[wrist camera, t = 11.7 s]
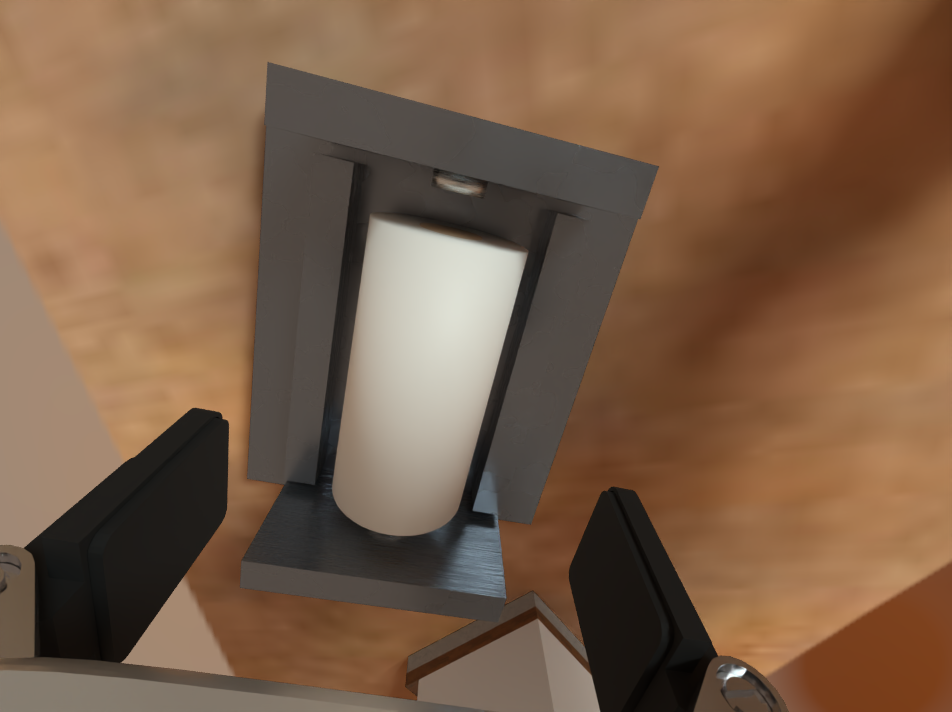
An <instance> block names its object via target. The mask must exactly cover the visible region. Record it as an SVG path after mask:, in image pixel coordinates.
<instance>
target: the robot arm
mask: <svg viewBox="0 0 952 712" xmlns="http://www.w3.org/2000/svg"><path fill="white" fill-rule="evenodd" d="M228 443H229V423H228V421H227V420H224V419H222V415H221V413H219V412H215V411H210V410H205V409H199V408H192V409H191V410H189V411H188V412H187V413H186V414H185V415H183V416H182V417H181V418H180V419H179V420H178V421H176V422H175V423H174V424H173V425H172V426H171V427H169V428H168V429H167V430H166V431H165V432H164V433H162V434H161V435H160V436H159V437H158V438H157V439H155V440H154V441H153V442H152V443H151V444H150V445H148V446H147V447H146V448H145V449H144V450H143V451H141V452H140V453H139V454H138V455H137V456H136V457H133V458H131V459H129V460H128V461H126V462H125V463H124V464H122V465H121V466H120V467H119V468H118V469H117V470H116V471H114V472H113V473H112V474H111V475H109V476H108V477H107V478H106V479H105V480H104V481H102V482H101V483H100V484H99V485H98V486H96V487H95V488H94V489H93V490H92V491H91V492H89V493H88V494H87V495H86V496H85V497H83V498H82V499H81V500H80V501H79V502H78V503H76V504H75V505H74V506H73V507H72V508H70V509H69V510H68V511H67V512H66V513H65V514H63V515H62V516H61V517H60V518H59V519H57V520H56V521H55V522H54V523H53V524H52V525H51V526H49V527H48V528H47V529H46V530H44V531H43V532H42V533H41V534H40V535H39V536H37V537H36V538H35V539H34V540H33V541H31V542H30V543H29V544H28V545H27V546H26V547H24V548H21V547H16V546H12V545H0V712H496V711H489V710H481V709H474V708H467V707H460V706H453V705H445V704H438V703H431V702H423V701H416V700H408V699H401V698H394V697H386V696H379V695H371V694H364V693H356V692H349V691H341V690H334V689H326V688H319V687H311V686H304V685H296V684H288V683H280V682H272V681H265V680H257V679H249V678H241V677H234V676H226V675H218V674H210V673H202V672H195V671H187V670H179V669H169V668H160V667H151V666H142V665H133V664H124V663H121V662H122V661H123V660H124V659H125V658H126V657H127V656H128V655H129V653H130V652H131V650H132V649H133V647H134V646H135V645H136V643H137V642H138V640H139V639H140V637H141V636H142V635H143V633H144V632H145V630H146V629H147V628H148V626H149V625H150V623H151V622H152V621H153V619H154V618H155V616H156V615H157V614H158V612H159V611H160V609H161V608H162V606H163V605H164V604H165V602H166V601H167V599H168V598H169V596H170V595H171V594H172V592H173V591H174V589H175V588H176V587H177V585H178V584H179V582H180V581H181V580H182V578H183V577H184V575H185V574H186V573H187V571H188V570H189V568H190V567H191V565H192V564H193V563H194V561H195V560H196V558H197V557H198V556H199V554H200V553H201V551H202V550H203V548H204V547H205V546H206V544H207V543H208V541H209V540H210V539H211V537H212V536H213V534H214V533H215V531H216V530H217V529H218V527H219V526H220V524H221V523H222V521H223V519H224V517H225V514H226V510H227V487H228ZM569 581H570V586H571V590H572V594H573V598H574V603H575V607H576V611H577V615H578V620H579V624H580V628H581V632H582V637H583V641H584V645H585V649H586V654H587V658H588V662H589V666H590V671H591V675H592V679H593V683H594V687H595V692H596V696H597V700H598V704H599V709H600V712H789V711H788V709H787V706H786V704H785V702H784V700H783V699H782V697H781V696H780V694H779V693H778V691H777V690H776V689H775V688H774V686H773V685H772V684H771V683H770V682H769V681H768V680H767V679H766V678H765V677H764V676H763V675H762V674H761V673H759V672H758V671H757V670H756V669H755V668H753V667H752V666H750V665H748V664H747V663H745V662H743V661H742V660H739V659H736V658H733V657H731V656H718V655H717V653H716V651H715V649H714V647H713V645H712V642H711V640H710V638H709V636H708V634H707V632H706V630H705V628H704V626H703V624H702V622H701V620H700V618H699V616H698V614H697V612H696V610H695V608H694V606H693V604H692V602H691V600H690V598H689V596H688V594H687V592H686V590H685V588H684V586H683V584H682V582H681V580H680V578H679V576H678V574H677V572H676V571H675V569H674V567H673V565H672V563H671V561H670V559H669V557H668V555H667V553H666V551H665V549H664V547H663V545H662V543H661V541H660V539H659V537H658V535H657V533H656V531H655V529H654V527H653V525H652V523H651V521H650V519H649V517H648V515H647V513H646V511H645V509H644V507H643V505H642V503H641V501H640V499H639V497H638V495H637V494H636V492H635V491H633V490H628V489H623V488H617V487H611V488H609V490H608V491H603V492H602V493H601V495H600V497H599V499H598V502H597V504H596V506H595V509H594V511H593V513H592V516H591V518H590V520H589V523H588V525H587V528H586V530H585V532H584V535H583V537H582V539H581V542H580V544H579V546H578V549H577V551H576V553H575V556H574V558H573V560H572V563H571V565H570V569H569Z"/></svg>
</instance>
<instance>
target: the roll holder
mask: <svg viewBox="0 0 952 712" xmlns="http://www.w3.org/2000/svg"><path fill="white" fill-rule="evenodd" d="M264 125H266V141H265V160H264V178H263V196H262V215H261V233H260V252H259V270H258V289H257V307H256V326H255V344H254V363H253V381H252V399H251V418H250V436H249V455H248V473H247V479H252V480H258V481H265V482H271V483H277V484H283V485H284V487H283V489H282V490H281V492H280V494H279V496H278V497H277V499H276V501H275V503H274V504H273V506H272V508H271V510H270V511H269V513H268V515H267V517H266V518H265V520H264V522H263V524H262V525H261V527H260V529H259V531H258V532H257V534H256V536H255V538H254V540H253V541H252V543H251V545H250V547H249V548H248V550H247V552H246V554H245V555H244V557H243V559H242V561H241V577H240V588H245V589H253V590H260V591H267V592H275V593H282V594H290V595H297V596H305V597H312V598H319V599H327V600H334V601H342V602H349V603H356V604H364V605H371V606H379V607H386V608H394V609H401V610H408V611H416V612H423V613H431V614H438V615H446V616H453V617H460V618H468V619H475V620H483V621H490V622H498V621H499V618H500V616H501V613H502V610H503V607H504V604H505V601H506V599H507V597H506V588H505V579H504V570H503V561H502V552H501V543H500V534H499V525H498V519H499V520H505V521H511V522H518V523H524V524H530V525H531V523H532V520H533V517H534V514H535V511H536V508H537V506H538V503H539V500H540V497H541V494H542V491H543V489H544V486H545V483H546V480H547V477H548V474H549V471H550V469H551V466H552V463H553V460H554V457H555V454H556V451H557V449H558V446H559V443H560V440H561V437H562V434H563V432H564V429H565V426H566V423H567V420H568V417H569V414H570V412H571V409H572V406H573V403H574V400H575V397H576V394H577V392H578V389H579V386H580V383H581V380H582V377H583V375H584V372H585V369H586V366H587V363H588V360H589V357H590V355H591V352H592V349H593V346H594V343H595V340H596V337H597V335H598V332H599V329H600V326H601V323H602V320H603V318H604V315H605V312H606V309H607V306H608V303H609V300H610V298H611V295H612V292H613V289H614V286H615V283H616V280H617V278H618V275H619V272H620V269H621V266H622V263H623V261H624V258H625V255H626V252H627V249H628V246H629V243H630V241H631V238H632V235H633V232H634V229H635V226H636V223H637V221H638V219H641V216H642V213H643V210H644V207H645V204H646V202H647V199H648V196H649V193H650V190H651V187H652V185H653V182H654V179H655V176H656V173H657V170H658V168H659V166H655V165H652V164H648V163H644V162H640V161H637V160H633V159H629V158H625V157H622V156H618V155H614V154H610V153H607V152H603V151H599V150H595V149H592V148H588V147H584V146H580V145H577V144H573V143H569V142H565V141H562V140H558V139H554V138H550V137H547V136H543V135H539V134H535V133H532V132H528V131H524V130H521V129H517V128H513V127H509V126H506V125H502V124H498V123H494V122H491V121H487V120H483V119H479V118H476V117H472V116H468V115H464V114H461V113H457V112H453V111H449V110H446V109H442V108H438V107H434V106H431V105H427V104H423V103H419V102H416V101H412V100H408V99H404V98H401V97H397V96H393V95H389V94H386V93H382V92H378V91H374V90H371V89H367V88H363V87H359V86H356V85H352V84H348V83H344V82H341V81H337V80H333V79H329V78H326V77H322V76H318V75H314V74H311V73H307V72H303V71H299V70H296V69H292V68H288V67H284V66H281V65H277V64H273V63H269V62H268V65H267V84H266V103H265V122H264ZM374 212H387V213H397V214H404V215H411V216H416V217H422V218H427V219H432V220H437V221H442V222H446V223H450V224H455V225H459V226H463V227H466V228H470V229H474V230H478V231H481V232H485V233H488V234H491V235H494V236H497V237H500V238H503V239H506V240H509V241H512V242H514V243H516V244H519V245H521V246H523V247H524V248H526V249H527V250H528V251H529V252H528V255H527V259H526V263H525V266H524V270H523V274H522V277H521V281H520V285H519V288H518V292H517V296H516V300H515V303H514V307H513V311H512V314H511V318H510V322H509V325H508V329H507V333H506V336H505V340H504V344H503V347H502V351H501V355H500V358H499V362H498V366H497V369H496V373H495V377H494V380H493V384H492V388H491V391H490V395H489V399H488V402H487V406H486V410H485V413H484V417H483V421H482V424H481V428H480V432H479V435H478V439H477V443H476V447H475V450H474V454H473V458H472V461H471V465H470V469H469V472H468V476H467V480H466V483H465V487H464V491H463V494H462V498H461V502H460V505H459V508H458V510H457V512H456V514H455V515H454V517H453V518H452V519H451V520H450V521H449V522H448V523H446V524H445V525H443V526H442V527H440V528H438V529H436V530H434V531H431V532H428V533H425V534H420V535H412V536H395V535H387V534H382V533H378V532H375V531H372V530H369V529H367V528H364V527H362V526H360V525H359V524H357V523H355V522H353V521H352V520H351V519H350V518H348V517H347V516H346V515H345V514H344V513H343V512H342V511H341V510H340V508H339V507H338V506H337V504H336V502H335V500H334V497H333V493H332V483H333V476H334V469H335V462H336V454H337V447H338V440H339V433H340V426H341V419H342V411H343V404H344V397H345V390H346V383H347V376H348V368H349V361H350V354H351V347H352V340H353V333H354V326H355V318H356V311H357V304H358V297H359V290H360V283H361V275H362V268H363V261H364V254H365V247H366V240H367V233H368V225H369V218H370V214H371V213H374Z"/></svg>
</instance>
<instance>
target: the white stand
mask: <svg viewBox="0 0 952 712" xmlns="http://www.w3.org/2000/svg"><path fill="white" fill-rule="evenodd" d="M405 687H406V688H407V689H409V690H410V691H411V692H412V693H414V694H415V695H416V696H417V701H423V702H431V703H438V704H445V705H453V706H460V707H467V708H474V709H481V710H489V711H496V712H600V709H599V704H598V700H597V696H596V692H595V687H594V683H593V679H592V675H591V671H590V666H589V662H588V658H587V654H586V649H585V647H584V646H583V645H582V644H581V642H580V641H579V640H578V639H577V638H576V637H575V636H574V635H573V634H572V633H571V632H570V630H569V629H568V628H567V627H566V626H565V625H564V624H563V623H562V622H561V621H560V620H559V619H558V617H557V616H556V615H555V614H554V613H553V612H552V611H551V610H550V609H549V608H548V607H547V605H546V604H545V603H544V602H543V601H542V600H541V599H540V598H539V597H538V596H537V595H536V594H535V592H534V591H531V592H529V593H528V594H526V595H524V596H522V597H520V598H518V599H516V600H514V601H512V602H511V603H509V604H507V605H505V606H504V607H503V610H502V613H501V616H500V618H499V621H498V622H490V621H483V620H476V621H475V622H473V623H471V624H469V625H467V626H465V627H463V628H461V629H459V630H458V631H456V632H454V633H452V634H450V635H448V636H446V637H444V638H442V639H441V640H439V641H437V642H435V643H433V644H431V645H429V646H427V647H425V648H424V649H422V650H420V651H418V652H416V653H414V654H412V655H410V656H408V666H407V675H406V684H405Z"/></svg>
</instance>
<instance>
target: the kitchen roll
mask: <svg viewBox="0 0 952 712" xmlns="http://www.w3.org/2000/svg"><path fill="white" fill-rule="evenodd" d="M528 252H529V251H528V250H527V249H526V248H524V247H523V246H521V245H519V244H516V243H514V242H512V241H509V240H506V239H503V238H500V237H497V236H494V235H491V234H488V233H485V232H481V231H478V230H474V229H470V228H466V227H463V226H459V225H455V224H450V223H446V222H442V221H437V220H432V219H427V218H422V217H416V216H411V215H404V214H397V213H387V212H374V213H371V214H370V218H369V225H368V233H367V240H366V247H365V254H364V261H363V268H362V275H361V283H360V290H359V297H358V304H357V311H356V318H355V326H354V333H353V340H352V347H351V354H350V361H349V368H348V376H347V383H346V390H345V397H344V404H343V411H342V419H341V426H340V433H339V440H338V447H337V454H336V462H335V469H334V476H333V483H332V493H333V497H334V500H335V502H336V504H337V506H338V507H339V508H340V510H341V511H342V512H343V513H344V514H345V515H346V516H347V517H348V518H350V519H351V520H352V521H353V522H355V523H357V524H359V525H360V526H362V527H364V528H367V529H369V530H372V531H375V532H378V533H382V534H387V535H395V536H412V535H420V534H425V533H428V532H431V531H434V530H436V529H438V528H440V527H442V526H443V525H445V524H446V523H448V522H449V521H450V520H451V519H452V518H453V517H454V515H455V514H456V512H457V510H458V508H459V505H460V502H461V498H462V494H463V491H464V487H465V483H466V480H467V476H468V472H469V469H470V465H471V461H472V458H473V454H474V450H475V447H476V443H477V439H478V435H479V432H480V428H481V424H482V421H483V417H484V413H485V410H486V406H487V402H488V399H489V395H490V391H491V388H492V384H493V380H494V377H495V373H496V369H497V366H498V362H499V358H500V355H501V351H502V347H503V344H504V340H505V336H506V333H507V329H508V325H509V322H510V318H511V314H512V311H513V307H514V303H515V300H516V296H517V292H518V288H519V285H520V281H521V277H522V274H523V270H524V266H525V263H526V259H527V255H528Z"/></svg>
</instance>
